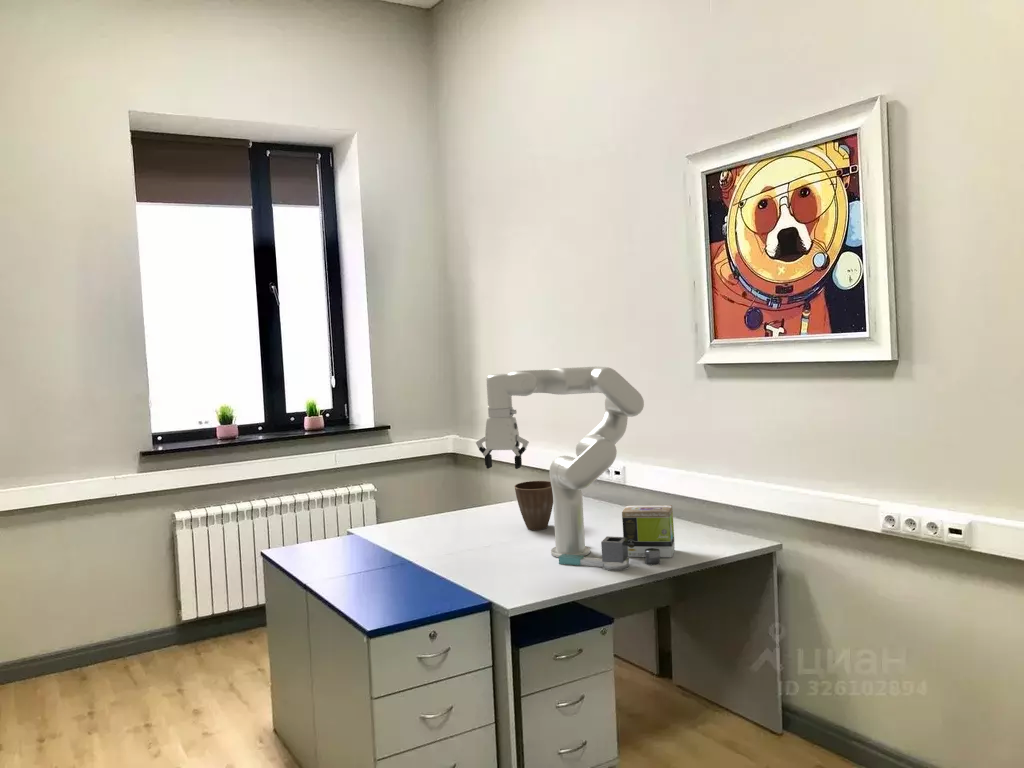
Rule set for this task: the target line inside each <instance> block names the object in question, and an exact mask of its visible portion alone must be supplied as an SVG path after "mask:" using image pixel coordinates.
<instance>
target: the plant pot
mask: <svg viewBox="0 0 1024 768" xmlns="http://www.w3.org/2000/svg"><path fill="white" fill-rule="evenodd" d="M514 491H515V495H516V499H517V504H518V508H519V511H520V514H521V516H522V519H523V521H524V524H525V526H526V528H527V530H529V529H530V530H529V531H541V530H542V531H543V530H545V529H547V528H548V526H549V523H550V520H551V515H552V511H553V508H554V505H553V492H552V486H551V481H549V480H533V481H531V480H530V481H524V482H519V483H517V484H515V485H514Z"/></svg>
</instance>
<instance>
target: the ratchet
mask: <svg viewBox="0 0 1024 768" xmlns="http://www.w3.org/2000/svg"><path fill="white" fill-rule="evenodd" d="M558 564H559V565H568V566H569V565H570V566H583V567H584V566H585V567H596V568H602V569H603V570H605V571H611V572H616V571H617V572H619V571H624V570H625V571H626V570H628V569H629V568H630V557H627V559H626V560H625V561H624V562H623V563H620V562H602V557H601V558H599V557H585V556H583V555H570V554H562V555H561V556H559V557H558Z"/></svg>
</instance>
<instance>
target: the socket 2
mask: <svg viewBox="0 0 1024 768" xmlns="http://www.w3.org/2000/svg"><path fill="white" fill-rule="evenodd" d="M644 559H645V560H644V561H645V564H646V565H648V566H658V565H660V564H661V557H660V550H659V549H656V548H649V549H646V550H645V557H644Z"/></svg>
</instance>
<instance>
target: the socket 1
mask: <svg viewBox="0 0 1024 768" xmlns="http://www.w3.org/2000/svg"><path fill="white" fill-rule="evenodd" d="M600 547H601V559H602V562H620V563H623V562H624V561H625V560H626V559H627V557H628V543H627V537H623V536H605V537H604V539H603V540H602V541H601V546H600ZM628 558H629V557H628Z"/></svg>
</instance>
